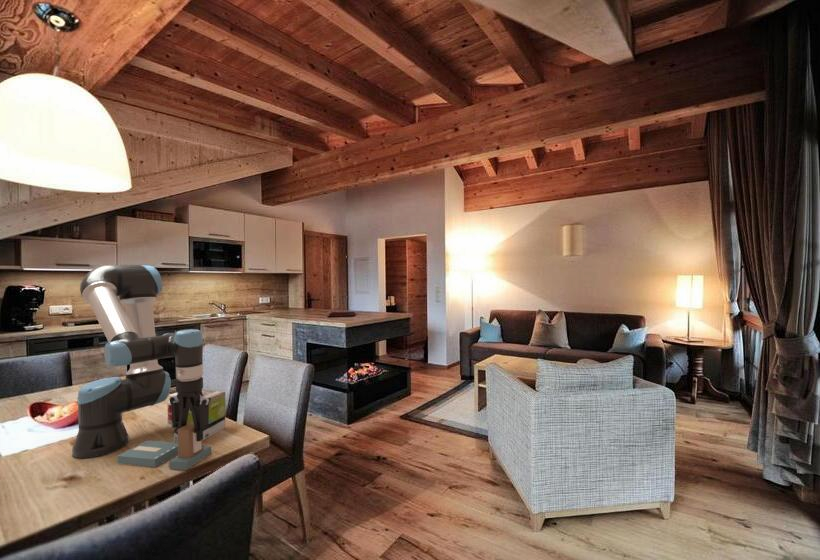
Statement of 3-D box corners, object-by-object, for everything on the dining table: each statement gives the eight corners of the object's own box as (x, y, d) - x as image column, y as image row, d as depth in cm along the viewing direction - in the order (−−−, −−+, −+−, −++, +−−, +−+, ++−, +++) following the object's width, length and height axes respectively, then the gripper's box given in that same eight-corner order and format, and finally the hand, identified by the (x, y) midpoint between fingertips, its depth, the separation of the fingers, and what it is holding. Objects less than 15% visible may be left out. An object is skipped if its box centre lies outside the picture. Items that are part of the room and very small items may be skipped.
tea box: (197, 445, 130) (196, 404, 130) (173, 443, 132) (172, 402, 132) (226, 427, 145) (225, 390, 144) (204, 426, 147) (203, 389, 146)
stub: (169, 468, 114) (168, 432, 114) (195, 451, 125) (195, 418, 125) (185, 470, 113) (185, 433, 113) (211, 452, 124) (210, 419, 124)
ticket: (117, 463, 118) (117, 455, 118) (147, 447, 129) (147, 440, 128) (154, 467, 115) (154, 459, 115) (182, 450, 126) (182, 443, 126)
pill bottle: (164, 422, 151) (164, 395, 150) (180, 417, 156) (179, 391, 156) (173, 424, 148) (172, 397, 147) (188, 419, 153) (188, 393, 153)
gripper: (157, 380, 116) (158, 453, 117) (204, 382, 113) (205, 458, 114) (176, 373, 124) (177, 442, 124) (221, 376, 121) (222, 446, 121)
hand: (190, 449), depth 119 cm, fingers closed on stub, 4 cm apart
